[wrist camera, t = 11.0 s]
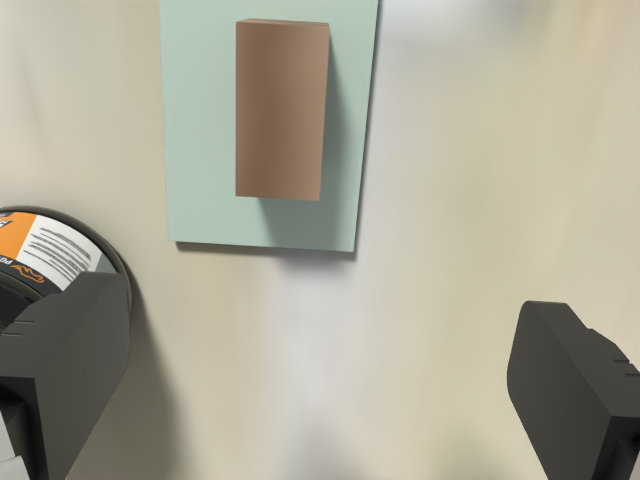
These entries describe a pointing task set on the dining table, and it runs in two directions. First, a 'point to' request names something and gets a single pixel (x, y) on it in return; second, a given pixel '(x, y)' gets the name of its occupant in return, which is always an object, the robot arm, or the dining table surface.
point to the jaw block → (280, 107)
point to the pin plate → (220, 125)
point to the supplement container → (47, 257)
